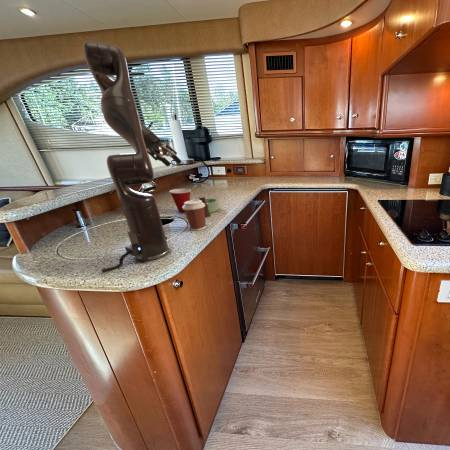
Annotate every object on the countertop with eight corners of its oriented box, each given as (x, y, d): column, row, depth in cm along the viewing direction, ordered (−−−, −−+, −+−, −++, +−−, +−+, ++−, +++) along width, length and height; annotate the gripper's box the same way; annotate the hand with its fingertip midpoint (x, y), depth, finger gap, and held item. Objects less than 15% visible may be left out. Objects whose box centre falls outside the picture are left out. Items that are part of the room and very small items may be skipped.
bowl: (204, 215, 123) (202, 205, 121) (190, 212, 129) (187, 203, 127) (223, 209, 133) (222, 199, 131) (209, 206, 139) (207, 197, 137)
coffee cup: (198, 223, 110) (193, 198, 106) (213, 225, 107) (208, 199, 103) (182, 230, 103) (176, 203, 99) (198, 232, 99) (192, 205, 95)
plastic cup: (189, 213, 128) (185, 191, 124) (170, 214, 129) (164, 192, 125) (198, 207, 138) (194, 187, 134) (180, 208, 139) (175, 188, 135)
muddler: (205, 217, 119) (201, 198, 115) (199, 216, 121) (195, 197, 117) (211, 215, 122) (207, 196, 118) (206, 214, 124) (202, 196, 120)
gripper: (139, 132, 101) (169, 160, 105) (160, 131, 114) (187, 156, 118) (131, 145, 104) (161, 172, 107) (153, 142, 117) (179, 166, 120)
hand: (174, 163), depth 112 cm, fingers open, 8 cm apart
